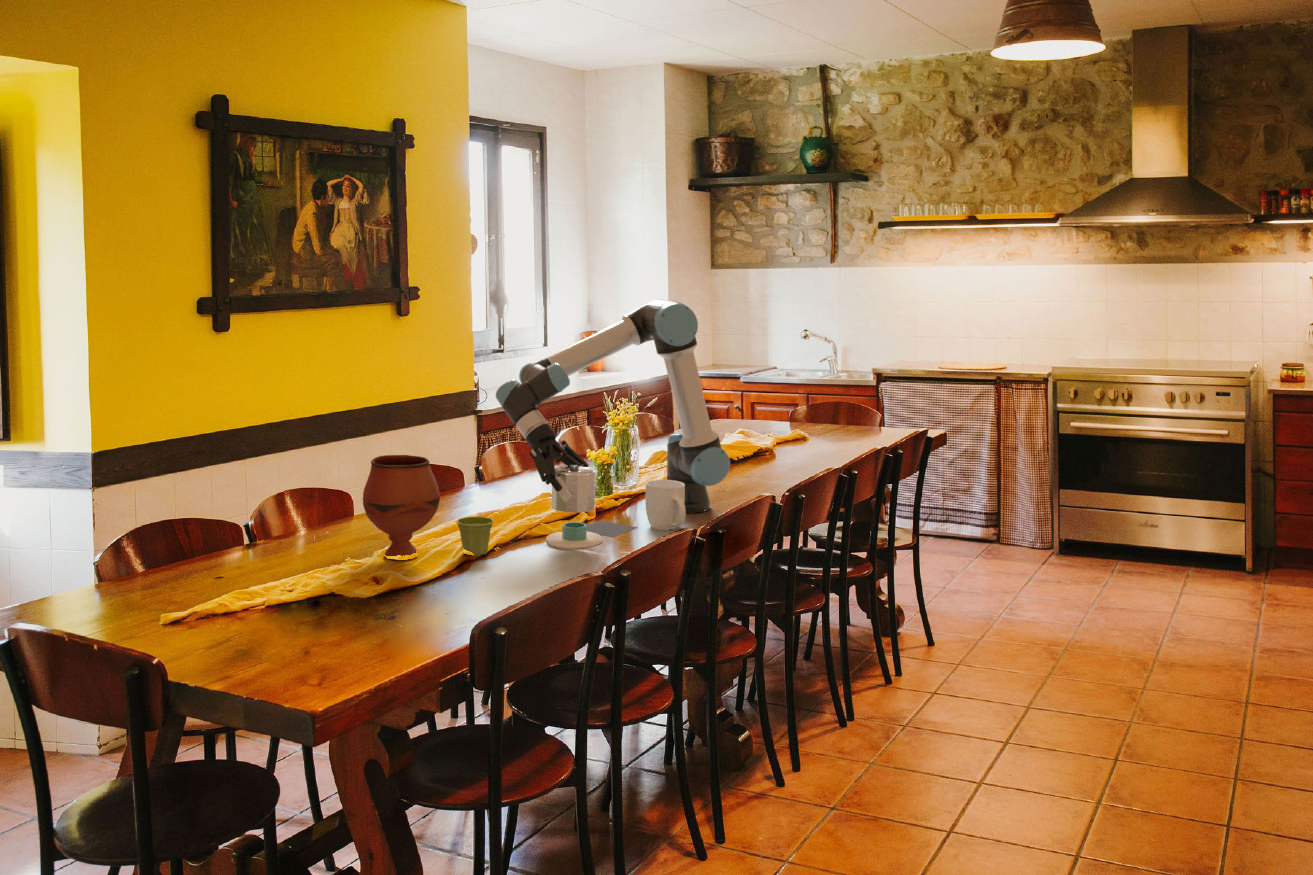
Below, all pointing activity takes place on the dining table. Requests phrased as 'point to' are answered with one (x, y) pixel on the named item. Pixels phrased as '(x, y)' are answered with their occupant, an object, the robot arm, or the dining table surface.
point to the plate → (573, 537)
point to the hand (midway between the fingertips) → (582, 495)
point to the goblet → (400, 498)
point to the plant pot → (475, 534)
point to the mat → (608, 528)
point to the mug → (665, 504)
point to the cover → (575, 489)
